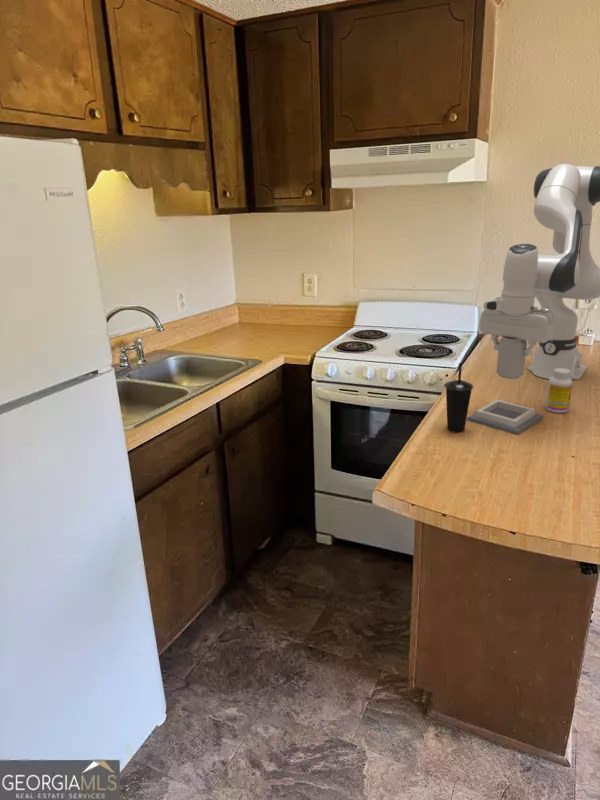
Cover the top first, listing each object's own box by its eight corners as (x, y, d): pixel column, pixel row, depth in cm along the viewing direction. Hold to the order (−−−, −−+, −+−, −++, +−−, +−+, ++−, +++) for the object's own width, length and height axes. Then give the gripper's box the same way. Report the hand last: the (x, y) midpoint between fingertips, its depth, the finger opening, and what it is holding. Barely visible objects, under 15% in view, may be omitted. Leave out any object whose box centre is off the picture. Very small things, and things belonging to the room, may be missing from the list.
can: (524, 380, 163) (529, 339, 158) (497, 379, 164) (501, 338, 160) (521, 372, 169) (525, 332, 165) (494, 371, 171) (498, 332, 167)
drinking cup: (470, 425, 168) (475, 360, 161) (468, 435, 162) (474, 368, 155) (443, 422, 171) (447, 358, 164) (441, 432, 164) (445, 366, 157)
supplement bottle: (570, 414, 174) (576, 374, 169) (547, 413, 175) (552, 373, 171) (565, 406, 180) (571, 367, 175) (543, 405, 181) (548, 366, 177)
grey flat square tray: (493, 405, 182) (494, 396, 181) (542, 418, 172) (544, 409, 170) (467, 420, 172) (467, 410, 171) (517, 434, 161) (519, 425, 160)
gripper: (559, 307, 154) (552, 356, 159) (489, 298, 168) (485, 344, 173) (548, 311, 150) (542, 361, 155) (478, 302, 164) (474, 348, 169)
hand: (512, 352), depth 164 cm, fingers closed on can, 7 cm apart
